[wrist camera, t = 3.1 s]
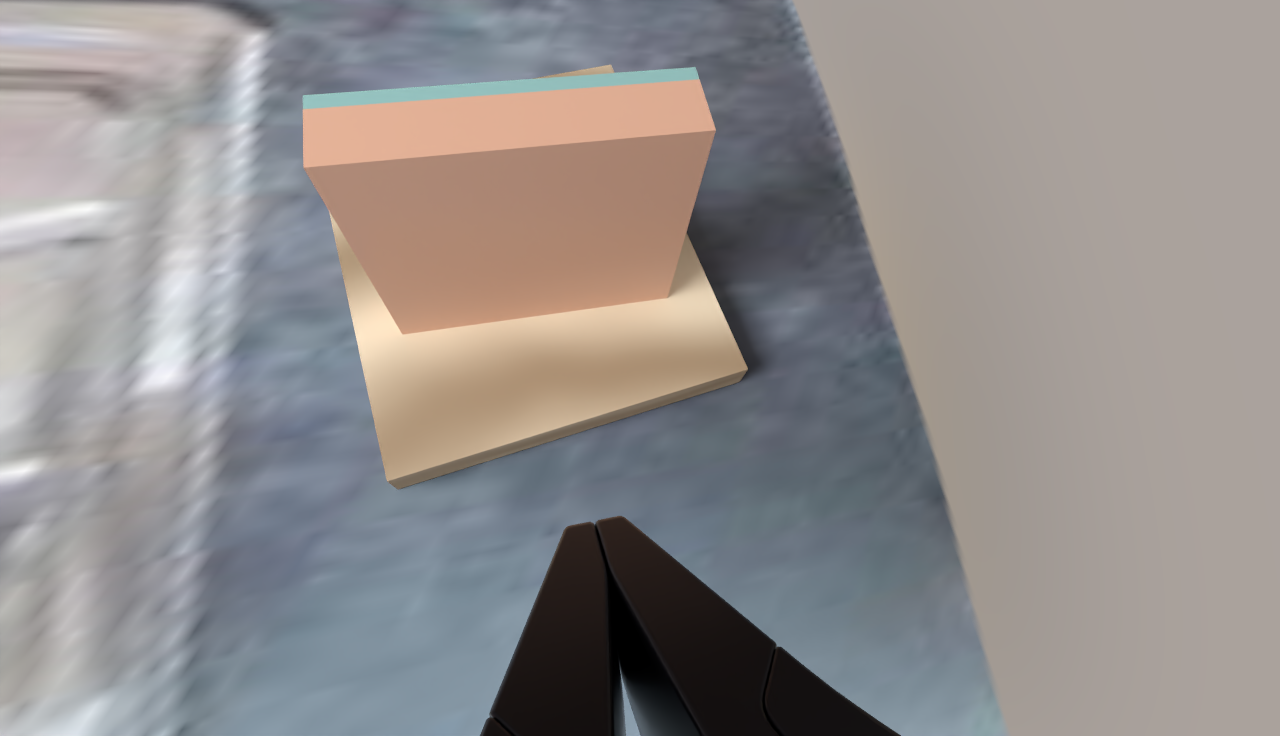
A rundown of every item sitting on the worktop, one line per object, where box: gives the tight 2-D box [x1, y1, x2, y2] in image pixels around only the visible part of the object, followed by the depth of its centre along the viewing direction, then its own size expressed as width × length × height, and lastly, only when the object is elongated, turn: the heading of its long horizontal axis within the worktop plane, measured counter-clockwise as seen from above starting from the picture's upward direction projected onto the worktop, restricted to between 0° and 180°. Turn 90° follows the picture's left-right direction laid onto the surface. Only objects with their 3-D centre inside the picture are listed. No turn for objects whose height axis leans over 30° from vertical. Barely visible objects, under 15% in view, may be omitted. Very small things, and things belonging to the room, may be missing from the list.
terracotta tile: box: [303, 67, 716, 335], centre depth 17 cm, size 2×9×8 cm, turn 102°
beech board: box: [329, 65, 748, 489], centre depth 22 cm, size 14×12×1 cm
